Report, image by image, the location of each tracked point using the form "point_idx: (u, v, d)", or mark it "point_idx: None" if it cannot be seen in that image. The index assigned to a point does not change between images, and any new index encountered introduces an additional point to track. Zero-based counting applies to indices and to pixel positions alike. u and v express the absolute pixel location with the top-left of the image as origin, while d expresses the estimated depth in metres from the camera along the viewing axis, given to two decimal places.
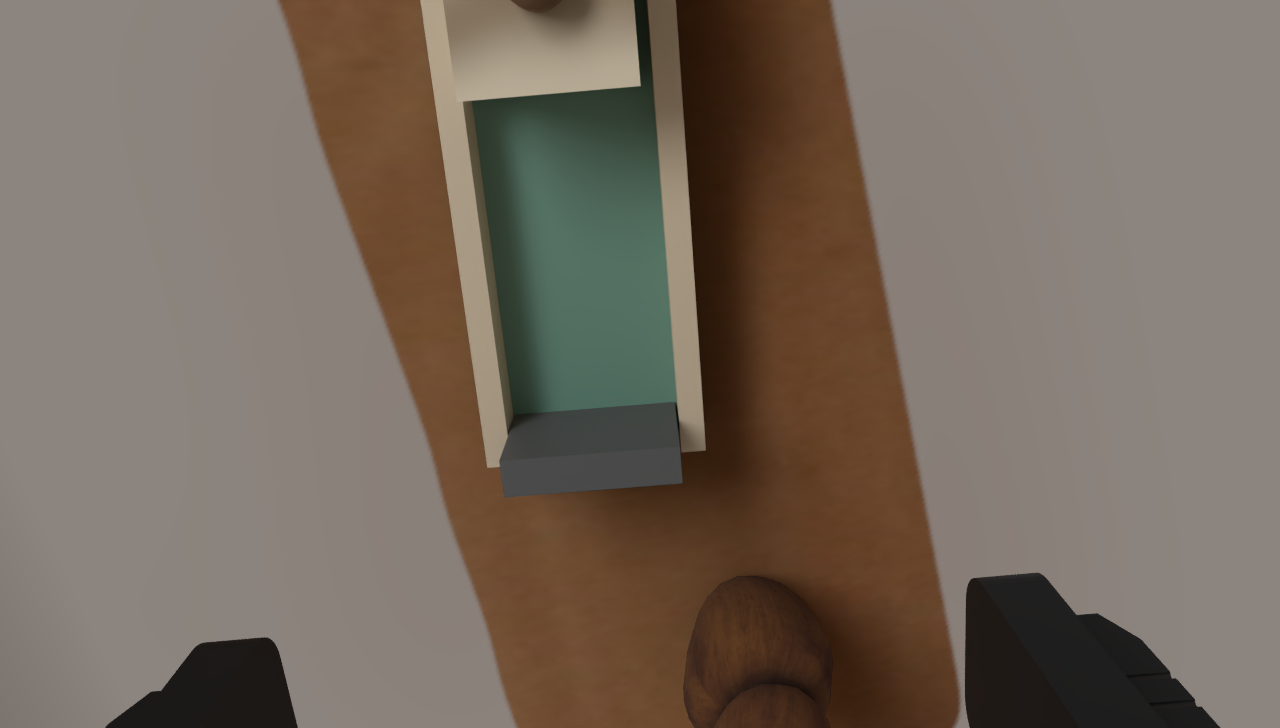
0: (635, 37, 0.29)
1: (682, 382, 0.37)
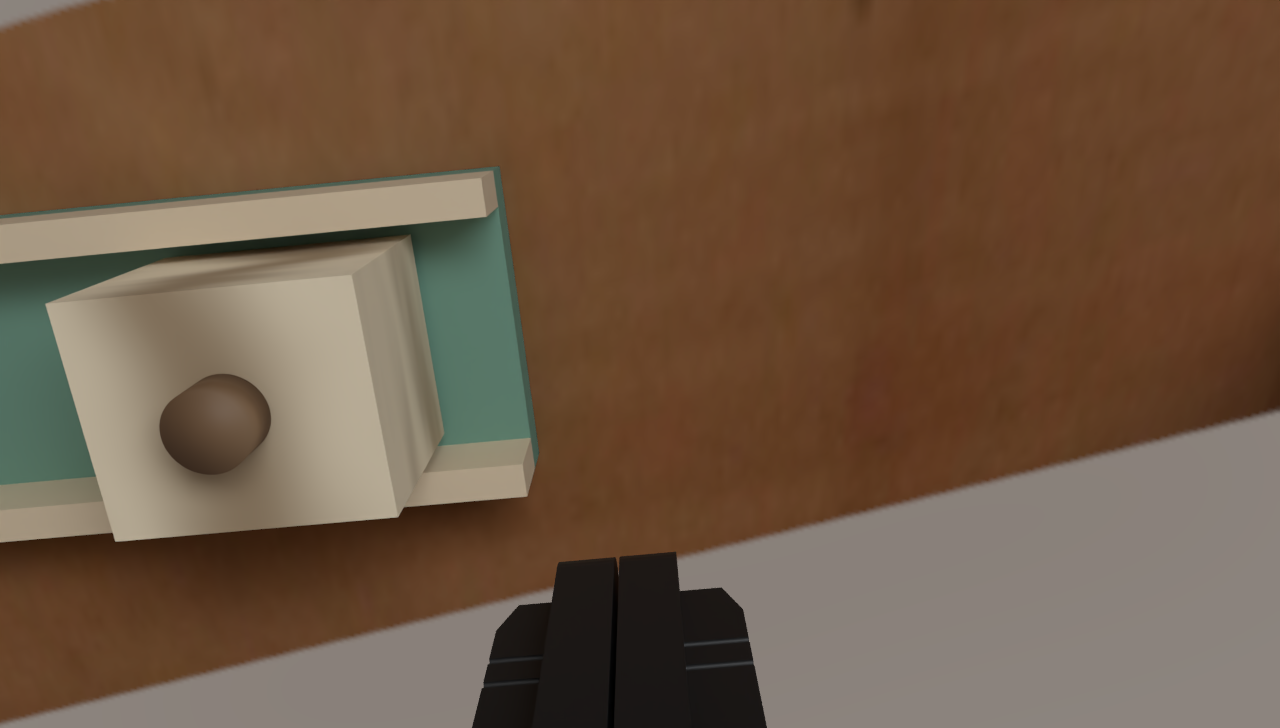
0: (174, 535, 0.23)
1: None
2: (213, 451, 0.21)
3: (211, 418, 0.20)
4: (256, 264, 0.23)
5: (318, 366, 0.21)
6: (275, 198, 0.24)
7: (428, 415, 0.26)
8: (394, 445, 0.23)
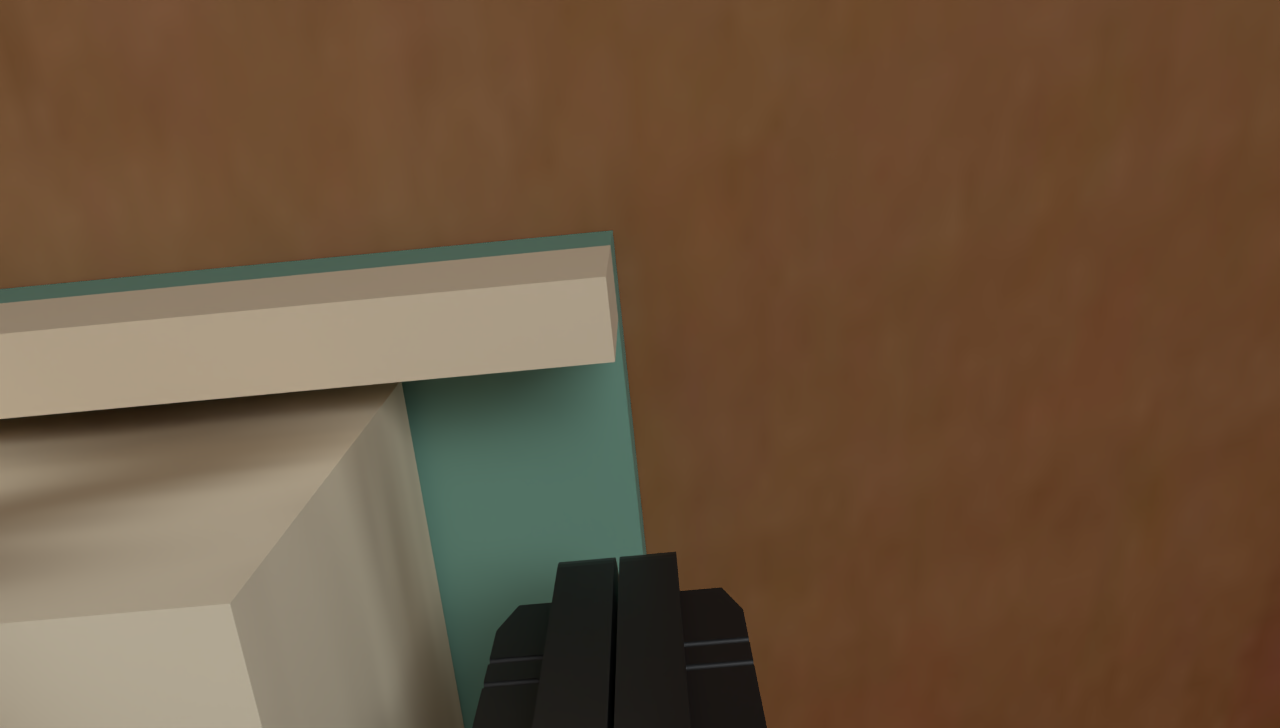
0: None
1: None
2: None
3: None
4: (35, 490, 0.10)
5: None
6: (133, 321, 0.10)
7: None
8: None
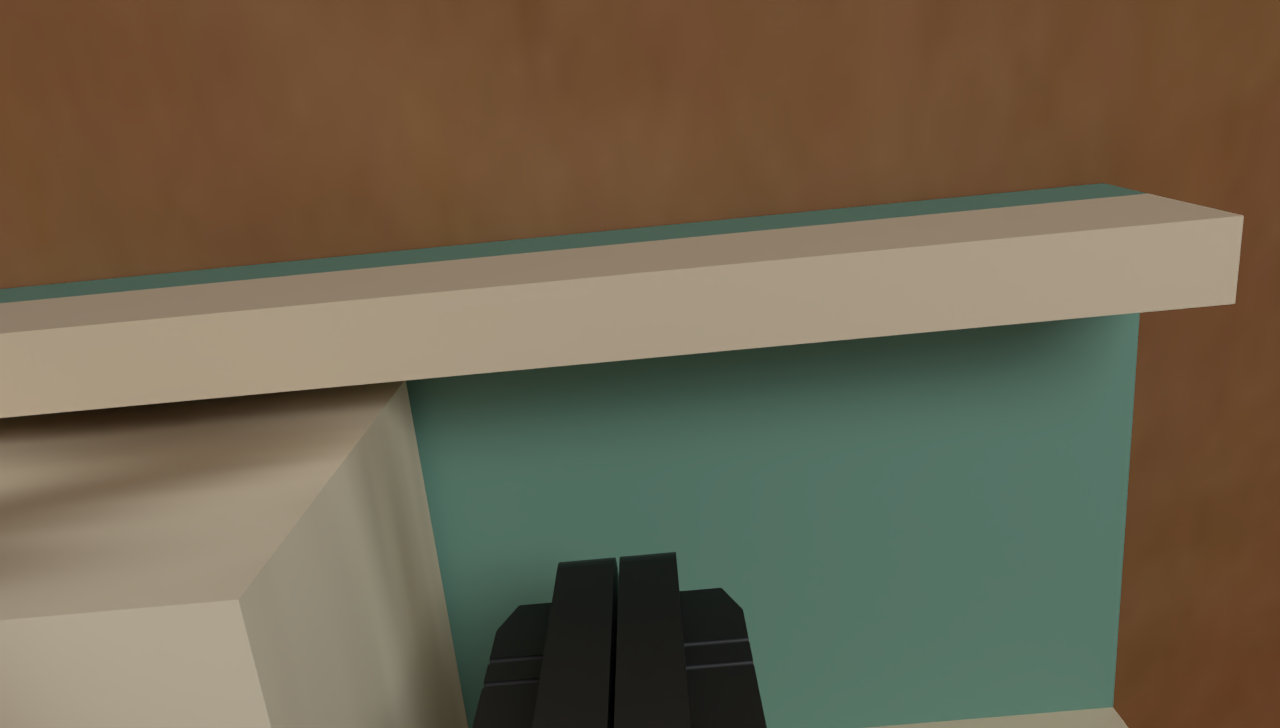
0: None
1: None
2: None
3: None
4: (42, 487, 0.10)
5: None
6: (754, 262, 0.10)
7: None
8: None
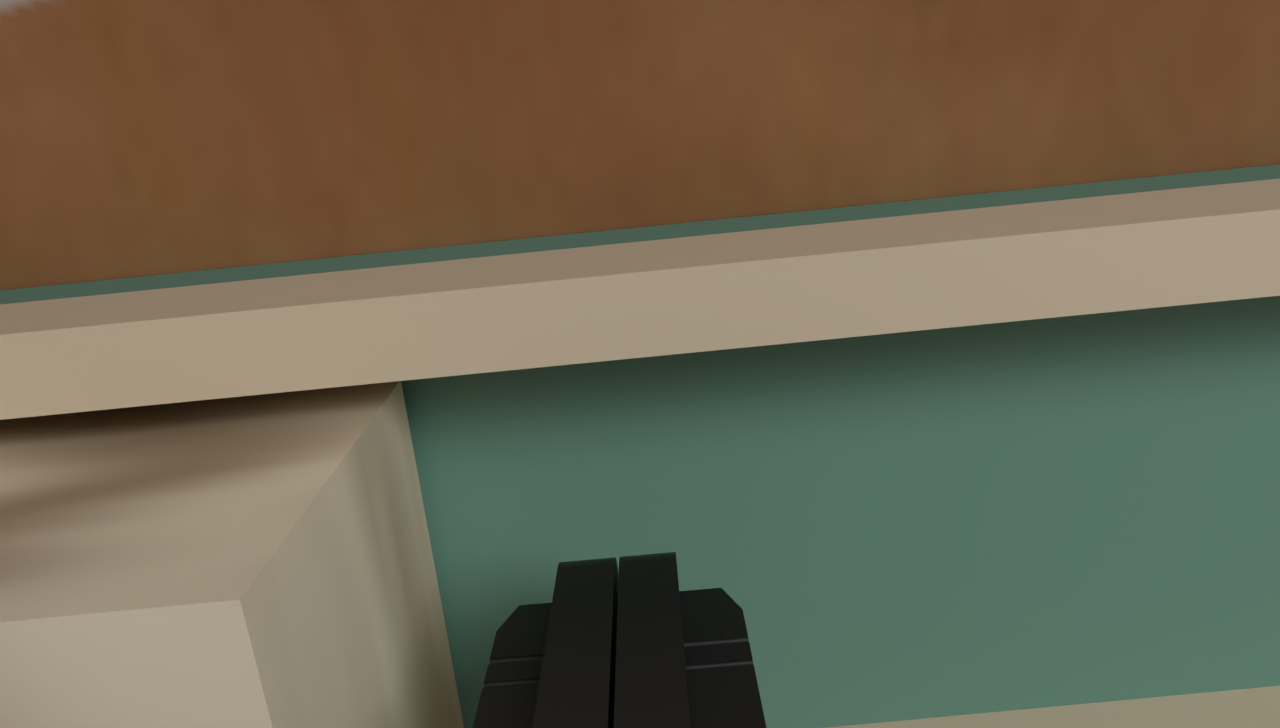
0: None
1: None
2: None
3: None
4: (37, 490, 0.10)
5: None
6: (1238, 213, 0.10)
7: None
8: None
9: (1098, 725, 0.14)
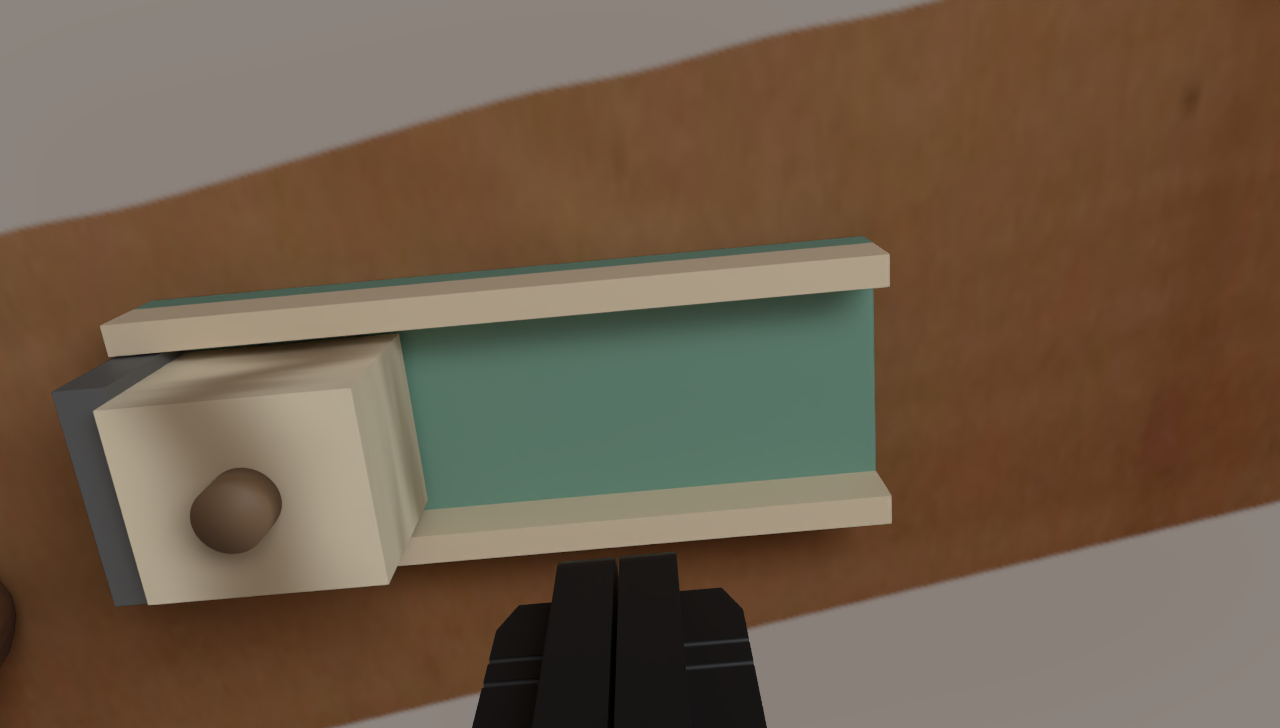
0: (198, 599, 0.27)
1: None
2: (235, 535, 0.25)
3: (233, 509, 0.24)
4: (267, 367, 0.27)
5: (322, 461, 0.25)
6: (710, 270, 0.28)
7: (414, 487, 0.30)
8: (385, 523, 0.27)
9: (708, 491, 0.32)
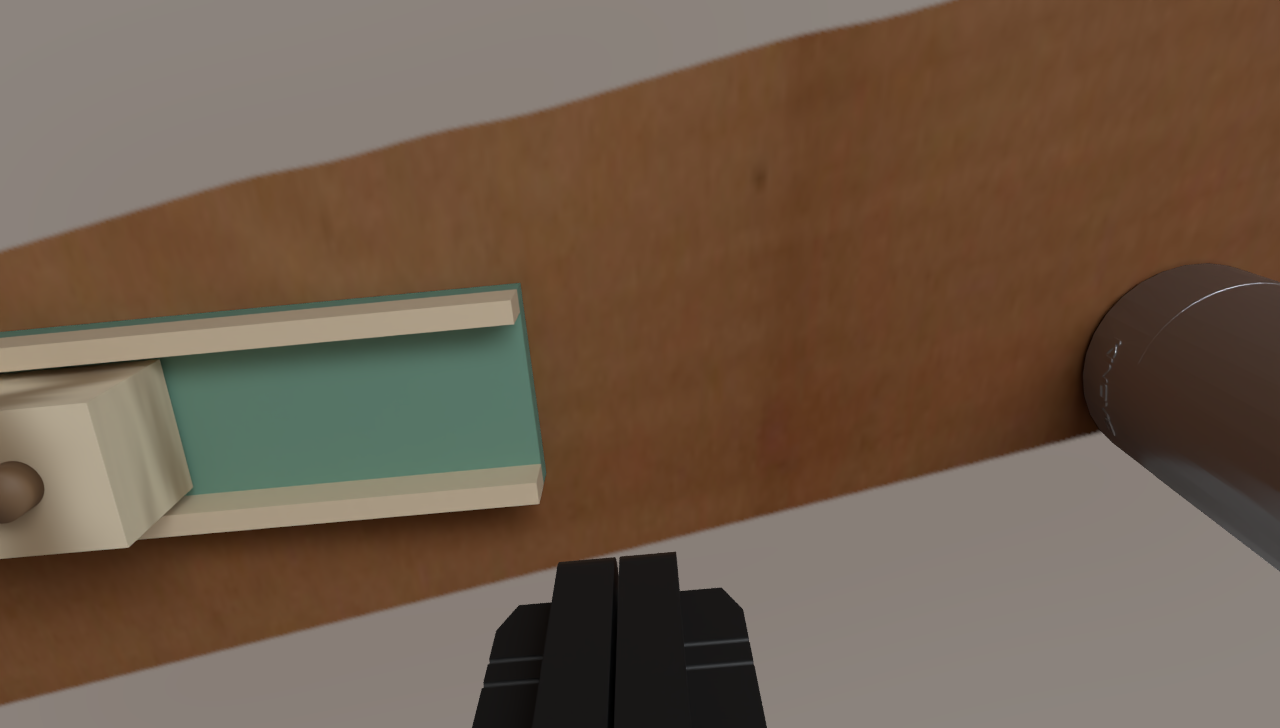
0: None
1: None
2: (3, 509, 0.34)
3: None
4: (44, 386, 0.37)
5: (71, 456, 0.35)
6: (377, 312, 0.37)
7: (173, 477, 0.40)
8: (127, 502, 0.36)
9: (408, 480, 0.41)
